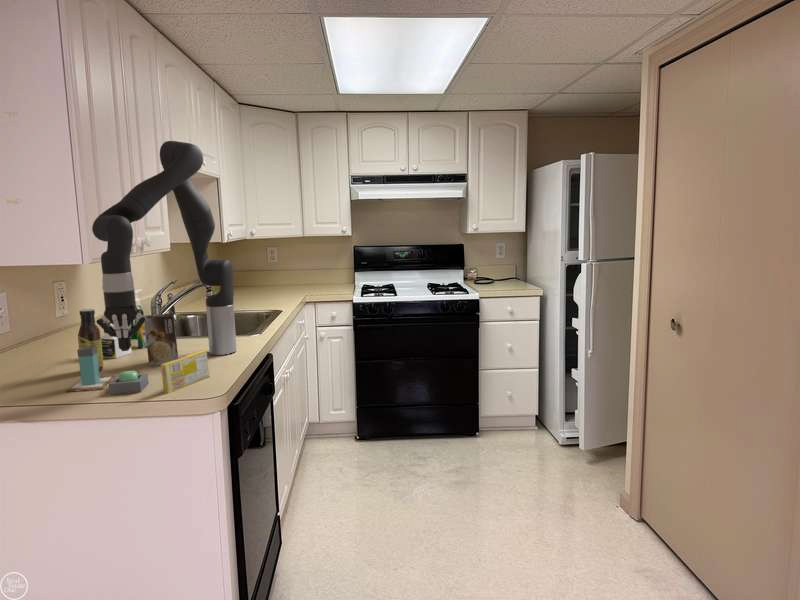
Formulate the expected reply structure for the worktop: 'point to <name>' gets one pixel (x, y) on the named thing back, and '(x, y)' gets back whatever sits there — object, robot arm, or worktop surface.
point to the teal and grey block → (88, 365)
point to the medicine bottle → (112, 346)
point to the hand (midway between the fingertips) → (125, 350)
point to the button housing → (128, 385)
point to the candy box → (184, 371)
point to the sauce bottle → (90, 334)
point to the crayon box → (141, 337)
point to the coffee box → (161, 339)
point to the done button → (128, 376)
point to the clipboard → (100, 385)
